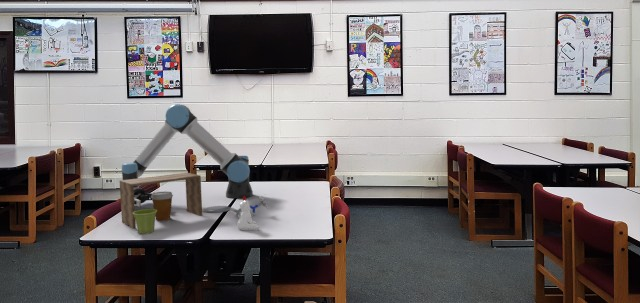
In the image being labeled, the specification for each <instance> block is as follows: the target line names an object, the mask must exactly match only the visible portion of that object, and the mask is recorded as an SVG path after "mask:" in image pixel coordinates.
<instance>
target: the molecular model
mask: <svg viewBox="0 0 640 303" xmlns="http://www.w3.org/2000/svg"><path fill="white" fill-rule="evenodd" d="M258 199H259V202H258V203H257V204H255V205H254V206H253V205H249V206H250V208H251V209H250V210H252V216H253V217H255V216H256V209H257V208H259V206H261V205H262V206H264V207H265V208H267V209H269V205H268V204H266V203H265V202H264V201H265V198H264V197H263V196H262V195H260V196H259V198H258ZM242 200H243V201H244V200H245V201H247V197H245V196H243V198H242ZM243 201H242V202H243ZM229 211H231V212H234V213H235V214H236V215H235V216H236V217H237V218H238V220H239V219H240V216H241V212H242V210H241V209H240V208H238V209H235V208H234V207H231V208H230V210H229Z"/></svg>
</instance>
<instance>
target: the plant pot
mask: <svg viewBox="0 0 640 303" xmlns="http://www.w3.org/2000/svg"><path fill="white" fill-rule="evenodd" d="M156 212H157V210H155V209H154V208H144V209H139V210H135V212H133V214H134V217H135V222H136V229H137V233H138V234H143V235H146V234H151V233H153V232H155V226H156V222H155V221H156V217H155V215H156Z"/></svg>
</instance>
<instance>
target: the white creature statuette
mask: <svg viewBox="0 0 640 303" xmlns="http://www.w3.org/2000/svg"><path fill="white" fill-rule="evenodd" d="M249 205H250V203H248V200H246V201H245V200H244V201H241V202H240V203H239V209H241V212H240V219H238V221H237V223H236V226H237V228H238V230H240V231H260V226H259V225H258V224H257V222H256V221H255V220H254V219H252V216H253V215H252V214H251V210H252V209H251V208H250V206H251V205H250V206H249Z"/></svg>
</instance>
